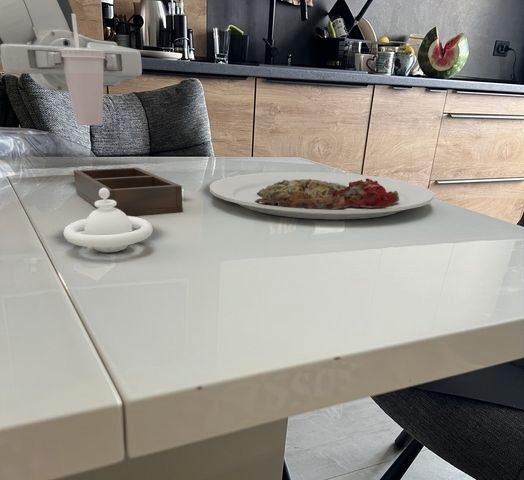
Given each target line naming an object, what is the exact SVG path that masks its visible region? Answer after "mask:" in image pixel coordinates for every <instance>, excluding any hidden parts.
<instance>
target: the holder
mask: <svg viewBox="0 0 524 480" xmlns="http://www.w3.org/2000/svg"><path fill="white" fill-rule="evenodd" d="M73 176H74V185H75V193H76V194H77V196H79V197H81V198H82V199H84V200H85V201H86V202H87V203H89V204H90V205H91V206H93V207H94V208H95V209H98V208H99V207H96V206H95V205H94V203H95V202H96V201H98V200H104V199H103V198H101V197H100V196H99V190H100V189H101V188H106V189H108V190H109V192H110V195H109V197H108V198H106V200H114V201H116V203H117V204H116V206H114V208H117V209H119V210H121V211H122V212H123V213H125V214H126V215H127V216H132V217H137V216H147V215H158V214H169V213H181V212H183V211H184V208H183V187H182V185H181V184H178V183H175V182H173V181H170V180H168V179H167V178H164V177H161V176H159V175H156V174H154V173H152V172H149V171H147V170H145V169H142V168H140V167H137V166H136V167H115V168H114V167H113V168H94V169H93V168H92V169H76V170H75V169H74V170H73Z"/></svg>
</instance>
